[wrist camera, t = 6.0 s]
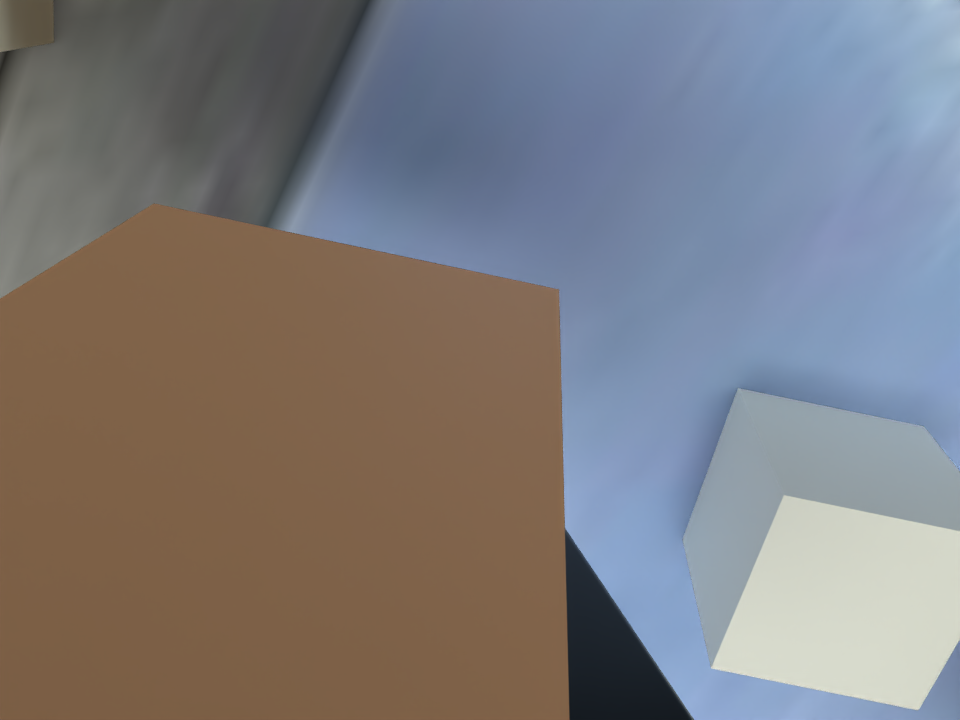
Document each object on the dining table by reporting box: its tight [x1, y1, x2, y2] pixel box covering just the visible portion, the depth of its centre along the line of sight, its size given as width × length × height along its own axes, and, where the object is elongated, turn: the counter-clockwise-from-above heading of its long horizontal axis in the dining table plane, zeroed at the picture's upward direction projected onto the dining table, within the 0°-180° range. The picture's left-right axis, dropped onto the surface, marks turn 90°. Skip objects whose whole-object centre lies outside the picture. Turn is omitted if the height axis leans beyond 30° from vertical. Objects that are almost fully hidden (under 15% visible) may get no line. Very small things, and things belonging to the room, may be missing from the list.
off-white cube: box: [682, 388, 960, 710], centre depth 21 cm, size 5×5×5 cm
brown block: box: [0, 204, 569, 720], centre depth 7 cm, size 4×4×7 cm
